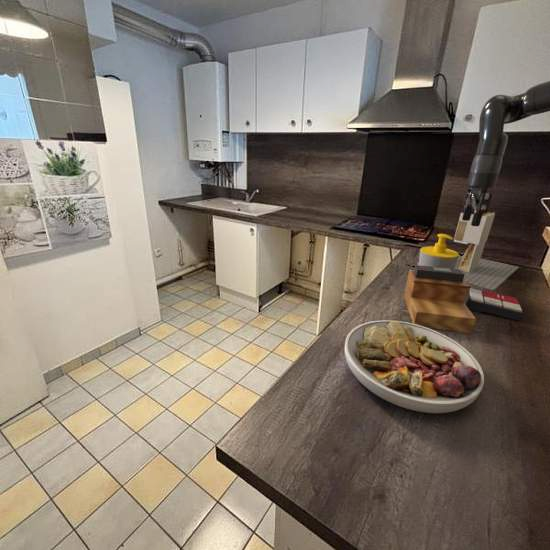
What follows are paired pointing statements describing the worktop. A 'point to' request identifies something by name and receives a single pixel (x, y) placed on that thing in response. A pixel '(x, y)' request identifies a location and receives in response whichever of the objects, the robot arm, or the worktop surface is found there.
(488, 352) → the worktop surface
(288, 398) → the worktop surface
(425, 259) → the soap bottle
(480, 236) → the white desk organizer
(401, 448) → the worktop surface
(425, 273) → the remote
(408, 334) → the bowl
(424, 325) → the shelf
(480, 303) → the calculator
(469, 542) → the worktop surface
